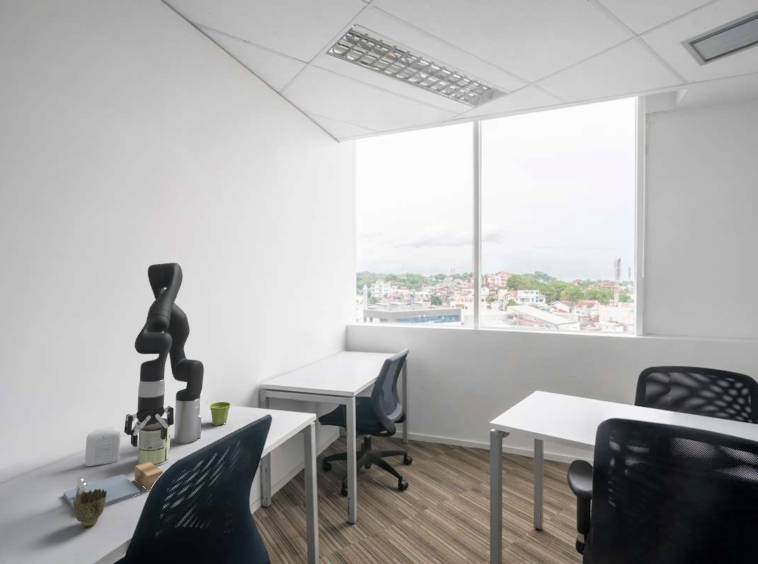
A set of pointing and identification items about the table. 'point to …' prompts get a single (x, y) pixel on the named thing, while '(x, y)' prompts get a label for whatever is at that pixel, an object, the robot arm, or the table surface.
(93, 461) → the photo printer
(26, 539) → the table surface
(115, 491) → the base board
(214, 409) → the plant pot
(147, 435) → the coffee can
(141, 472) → the flange bar
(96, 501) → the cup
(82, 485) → the dowel pins
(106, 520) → the table surface
